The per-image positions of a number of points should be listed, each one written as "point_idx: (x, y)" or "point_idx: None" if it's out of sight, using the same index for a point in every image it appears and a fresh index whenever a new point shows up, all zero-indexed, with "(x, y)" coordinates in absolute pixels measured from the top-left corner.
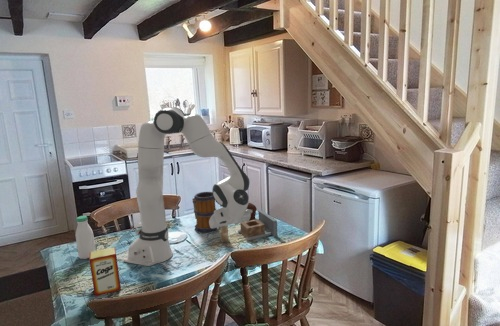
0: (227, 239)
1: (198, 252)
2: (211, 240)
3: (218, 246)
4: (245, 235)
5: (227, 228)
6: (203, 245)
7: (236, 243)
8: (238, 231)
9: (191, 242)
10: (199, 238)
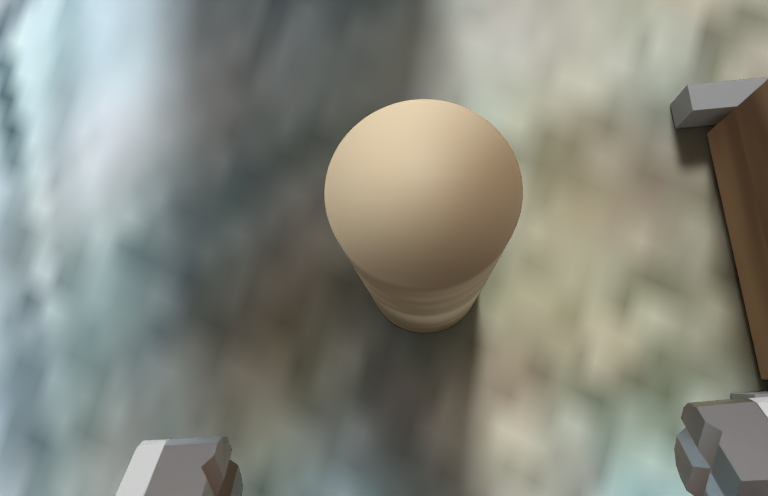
0: (456, 320)
1: (8, 470)
2: (266, 189)
3: (298, 409)
4: (759, 293)
5: (487, 275)
6: (130, 291)
7: (562, 429)
8: (683, 102)
9: (29, 146)
10: (149, 75)
